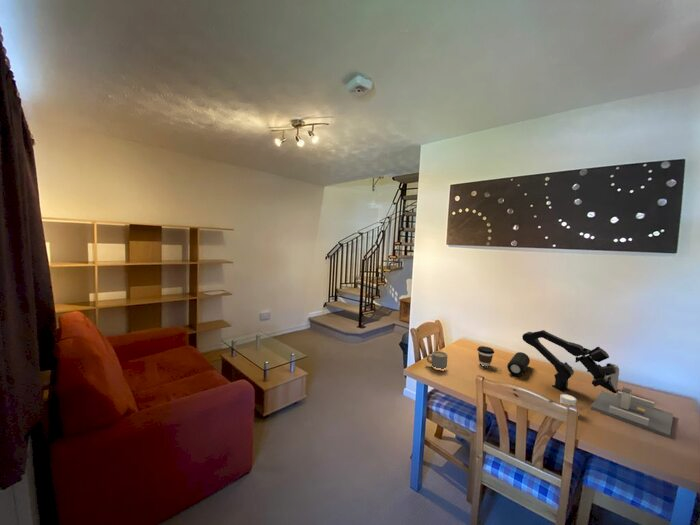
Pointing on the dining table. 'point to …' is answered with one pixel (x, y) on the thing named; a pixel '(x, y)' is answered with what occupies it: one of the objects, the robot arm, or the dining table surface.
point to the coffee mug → (438, 359)
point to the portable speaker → (518, 364)
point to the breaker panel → (635, 412)
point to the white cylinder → (568, 399)
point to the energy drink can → (614, 377)
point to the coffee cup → (485, 355)
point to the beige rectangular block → (625, 398)
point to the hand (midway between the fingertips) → (615, 392)
